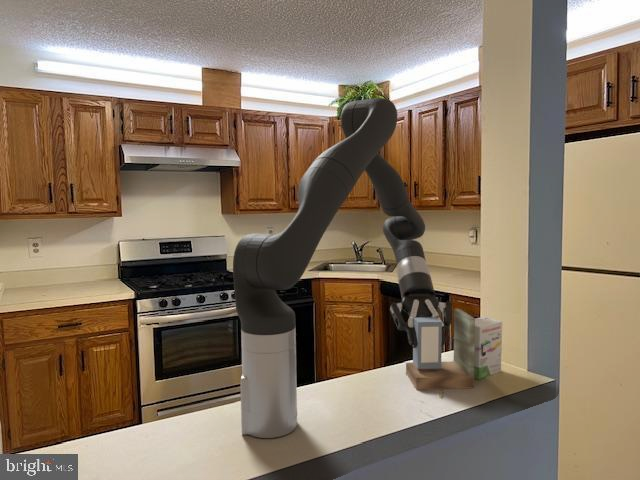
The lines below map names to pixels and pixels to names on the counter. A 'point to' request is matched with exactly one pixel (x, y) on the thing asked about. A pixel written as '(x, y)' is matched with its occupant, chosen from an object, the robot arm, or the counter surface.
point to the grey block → (427, 343)
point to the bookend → (454, 371)
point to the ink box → (487, 347)
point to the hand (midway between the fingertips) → (428, 345)
